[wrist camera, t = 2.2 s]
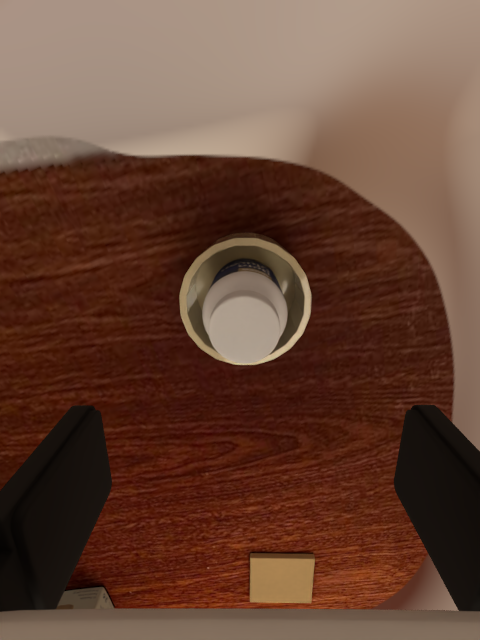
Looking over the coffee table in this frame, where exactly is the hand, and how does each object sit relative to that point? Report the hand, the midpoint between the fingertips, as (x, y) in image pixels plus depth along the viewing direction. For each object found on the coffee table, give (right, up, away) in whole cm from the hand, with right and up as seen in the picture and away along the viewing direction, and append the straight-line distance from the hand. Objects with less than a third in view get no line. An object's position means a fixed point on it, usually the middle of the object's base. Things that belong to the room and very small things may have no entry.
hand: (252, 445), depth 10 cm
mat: (+4, -25, +28) cm, 38 cm away
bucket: (0, +6, +18) cm, 19 cm away
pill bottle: (0, +6, +17) cm, 19 cm away
